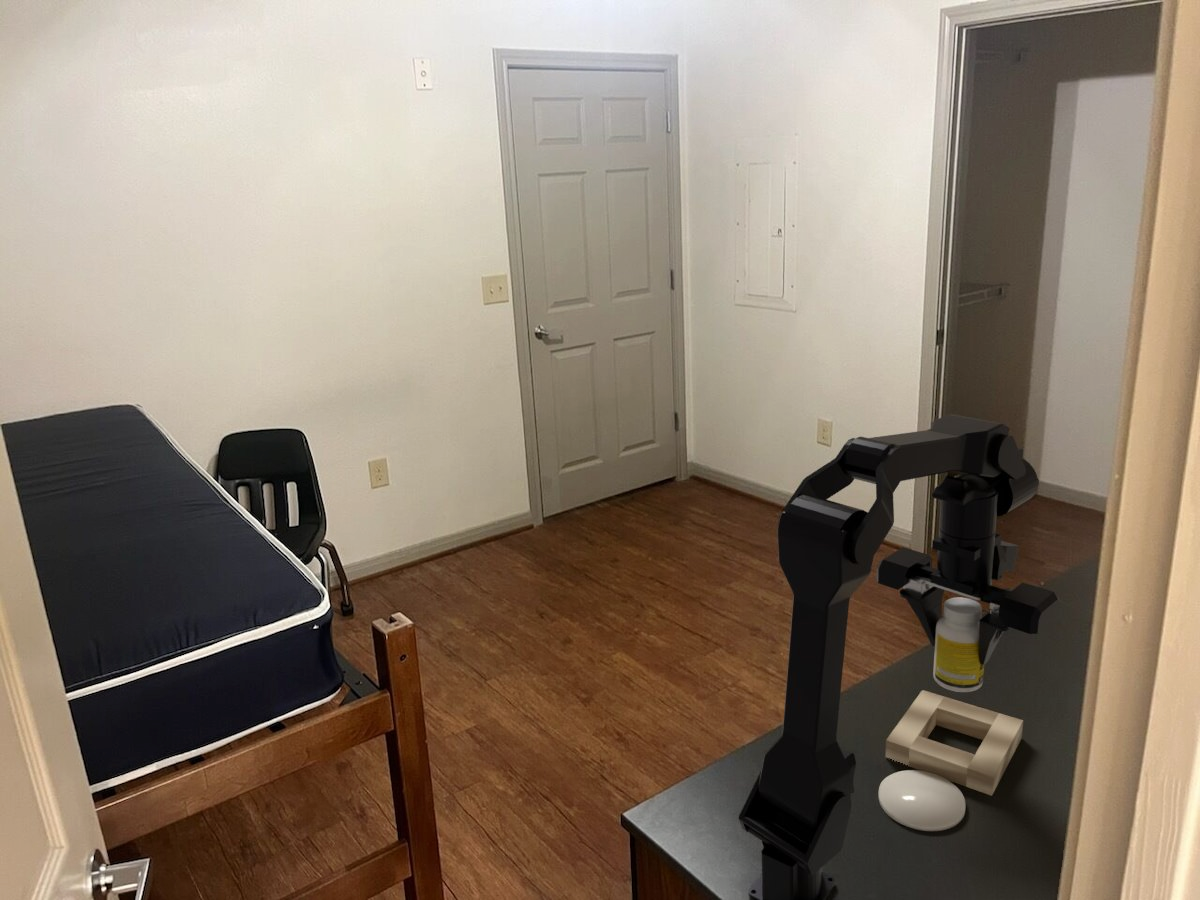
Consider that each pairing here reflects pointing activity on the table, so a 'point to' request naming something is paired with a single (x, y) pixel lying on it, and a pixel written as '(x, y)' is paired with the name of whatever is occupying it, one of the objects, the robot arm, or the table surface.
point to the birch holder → (948, 761)
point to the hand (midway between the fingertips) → (959, 654)
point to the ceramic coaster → (922, 800)
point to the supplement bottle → (958, 646)
